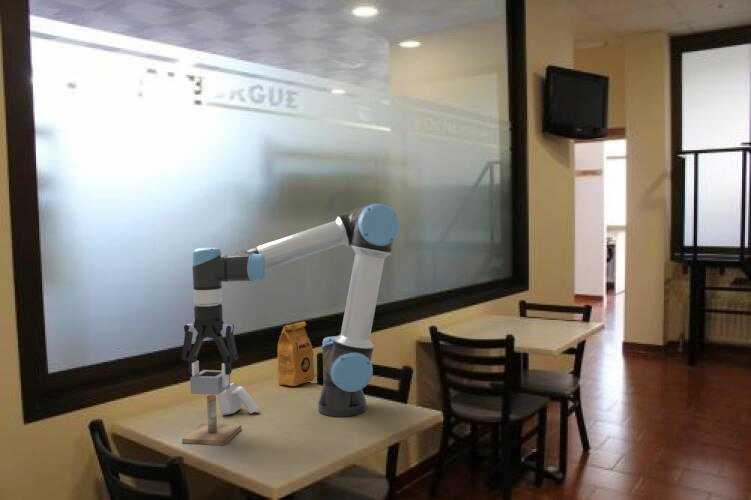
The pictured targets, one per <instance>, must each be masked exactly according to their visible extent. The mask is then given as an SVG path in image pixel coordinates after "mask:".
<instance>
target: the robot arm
mask: <svg viewBox="0 0 751 500" xmlns="http://www.w3.org/2000/svg"><path fill="white" fill-rule="evenodd" d="M400 227H401V225H400V219H399V217H398V215H397V213H396V212H395V211H394V209H393V208H392V207H389V206H388V205H386V204H382V203H371V204H369V203H366V204H363V205H361V206H359V207H357V208H355V209H353V210H350V211H349V212H346V213H344V214H341V215H338V216H337V217H336V218H335V220H334V221H330V222H327V223H324V224H322V225H321V224H320V225H317V226H314V227H312V228H309V229H306V230H302V231H298V232H297V233H294V234H291V235H288V236H285V237H284V236H283V237H281V238H279V239H276V240H272V241H269V242H266V243H263V244H260V245H257V246H255V247H252V248H248V249H245V250H239V251H237V252H235V253H234V254H222V252H221V248H219V247H200V248H199V247H198V248H195V249H194V250H193V251H192V283H193V285H192V286H193V303H194V306H193V316H194V318H193V319H194V322H193V323H187V324H185V325H184V326H183V329H184V340H183V345H182V346H183V347H182V354H181V359H182V361H187V363H188V371H189V372H188V373H189V374H191V375H192V376H194V375H196V374H197V373H199V372H200V366H199V365H200V361H199V360H197V359H198V355H199V353H200V350H201V348H202V345H203V342H204V340H205V339H206V338H208V339H212V340H213V342H215V344H216V347H217V349H218V350H219V351H218V352H219V353H220V356H221V358H222V359H223V363H221V371H222V387H226V386H228V385H229V374H230V375H232V374H231V373H232V363H233V362H235V361H236V360H238V359H239V355H238V351H237V347H236V340H235V335H234V328H235V326H234V325H235V324H233V323H232V324H227V323H225V322H224V321H223V305H222V302H223V294H222V293H223V290H222V289H223V288H222V287H223V286H222V283H225V282H226V283H227V282H255V281H263V280H264V279H265V278H266V270H269V269H273V268H275V267H278V266H282V265H284V264H287V263H290V262H293V261H297V260H300V259H302V258H306V257H308V256H311V255H314V254H318V253H320V252H323V251H327V250H329V249H333V248H336V247H338V246H342V245H344V246H346V247H349V246H351V248H352V250H353V251H354V260H353V264H352V271H351V277H350V281H349V287H348V291H347V292H348V293H347V298H346V301H345V302H346V303H345V307H344V309H345V310H344V313H343V320H342V324H341V330H340V333H339V335H334V336H326V337H324V338H323V340H322V346H321V349H322V382H323V384H322V389H321V392H320V396H319V399H318V403H317V406H318V407H317V409H318V412H319V413H320V414H322V415H324V416H329V417H338V418H340V417H341V418H344V417H352V416H356V415H360V414H362V413H364V412H365V411H366V410H367V404H368V403H367V399H366V396H365V393H364V390H363V389H364V388H366V387H367V386H368V384H369V383H370V382H371V380H372V379H373V374H374V373H373V372H374V370H373V363H372V357H373V353H374V347H375V345H374V344H373V343H372V341H371V339H370V338H371V334H372V328H373V322H374V318H375V312H376V306H377V301H378V297H379V290H380V287H381V286H380V284H381V280H382V274H383V269H384V263H385V260H386V258H387V257H388V256H391V254H392V248H393V244H394V241H395V240H396V238H397V236H398V235H399V233H400ZM194 330H195V331H196V332H197V333H196V337H195V342H194V344H193V343H192V342H193V335H194ZM222 330H224V333H225V339H226V343H225V340H224V338H223V337H224V336H223V333H222ZM192 344H193V346H192ZM226 345H227V346H226ZM192 376H191V377H192Z"/></svg>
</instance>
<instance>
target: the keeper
mask: <svg viewBox="0 0 751 500" xmlns="http://www.w3.org/2000/svg"><path fill="white" fill-rule="evenodd" d="M206 409H207V423H201V424H199V425H198V426H197V427H196V428H194V429H193V430H191V431H190V432H189V433H188V434H186V435H185V436H184V437H183V438H181V439H182V441H181V442H182V444H194V445H195V444H196V445H198V444H199V445H216V446H226V444H227V443H229V442H230V440H232V439H233V437H235V436H236V435H237V434H238V433H239V432H240V431H241V430H242V425H240V424H223V423H222V424H219V423H217V422H218V421H217V420H218V419H217V395H215V394H209V395H207V396H206Z"/></svg>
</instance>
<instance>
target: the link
mask: <svg viewBox="0 0 751 500" xmlns="http://www.w3.org/2000/svg"><path fill="white" fill-rule="evenodd" d="M189 380H190V381H189V382H190V395H193V394H194V395H215V396H217V395H219V394H220V393H222V392H223V391H225V390H226V389H227V388H229V387H230V384H231V374H229V385H228V386H226V387H222V370H213V369H211V370H209V369H202V370H201V371H199V373H197V374H196V375H194V376H190V378H189Z"/></svg>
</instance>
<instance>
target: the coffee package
mask: <svg viewBox="0 0 751 500" xmlns="http://www.w3.org/2000/svg"><path fill="white" fill-rule="evenodd" d="M306 326H307V323H306V321H301V322H296V323H291V324H287V325H284V326H283V328H282V330H281V334H280V335H279V339H278V342H277V359H276V360H277V376H278V378H277V380H278V381H277V383H278V385H279V386H289V387H296V386H299V385H304V384H307V383H310V382H312V381H313V380H314V378H315V368H314V366H315V365H314V350H313V345H312V343H311V340H310V338H309V336H308V334H307V331H306V329H305V327H306Z"/></svg>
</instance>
